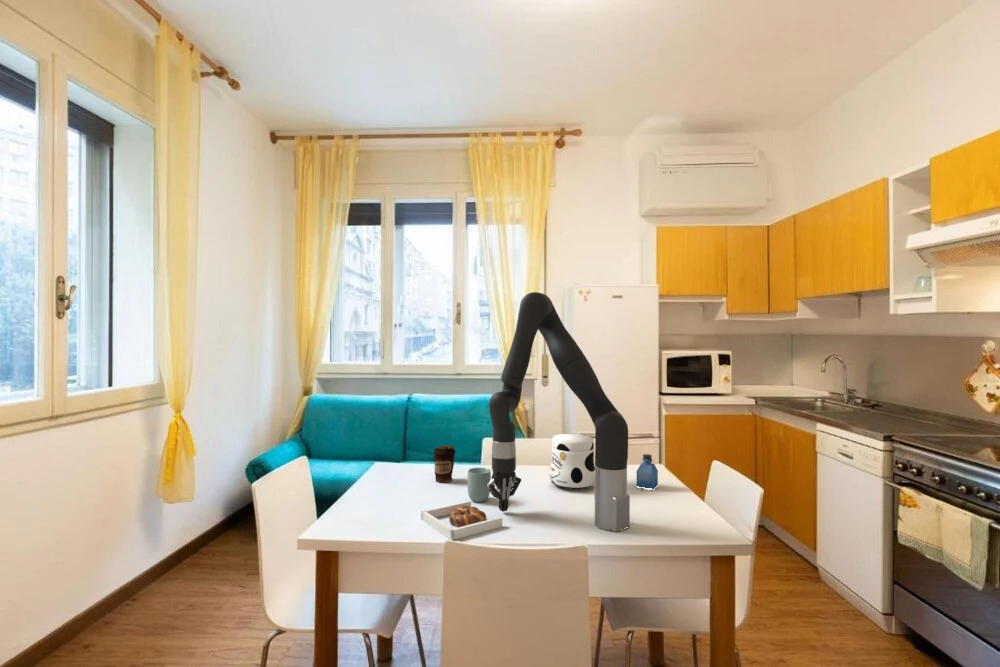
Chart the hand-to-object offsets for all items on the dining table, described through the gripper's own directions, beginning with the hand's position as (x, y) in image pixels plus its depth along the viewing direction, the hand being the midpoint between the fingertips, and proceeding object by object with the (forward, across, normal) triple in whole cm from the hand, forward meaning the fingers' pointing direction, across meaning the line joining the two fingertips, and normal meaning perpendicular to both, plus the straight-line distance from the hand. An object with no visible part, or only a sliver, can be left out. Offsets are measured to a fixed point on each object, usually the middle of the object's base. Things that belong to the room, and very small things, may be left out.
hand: (503, 510), depth 146 cm
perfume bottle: (+1, +60, -10) cm, 61 cm away
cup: (+1, +1, +14) cm, 15 cm away
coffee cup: (+1, +2, +40) cm, 41 cm away
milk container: (+1, +38, +8) cm, 39 cm away
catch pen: (+1, -15, +1) cm, 15 cm away
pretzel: (+1, -13, +1) cm, 13 cm away
